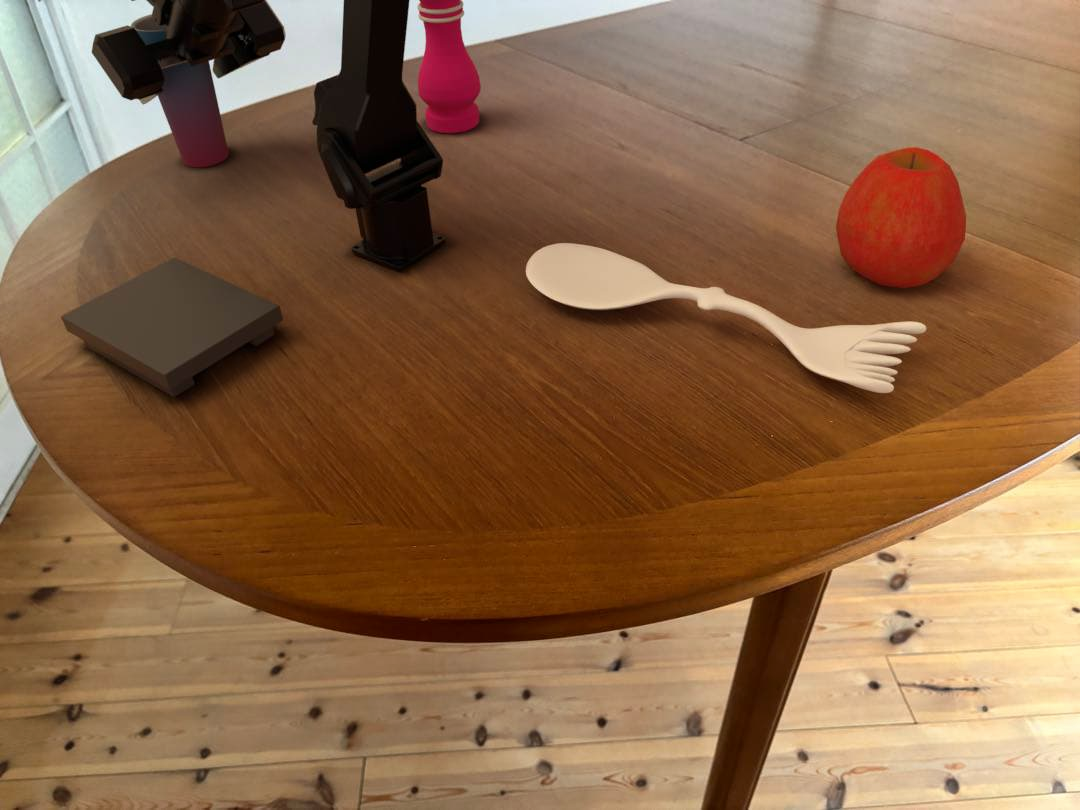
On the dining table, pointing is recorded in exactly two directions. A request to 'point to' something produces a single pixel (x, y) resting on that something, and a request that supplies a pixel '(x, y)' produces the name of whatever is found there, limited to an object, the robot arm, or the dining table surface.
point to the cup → (189, 104)
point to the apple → (902, 219)
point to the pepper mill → (447, 69)
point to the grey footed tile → (172, 323)
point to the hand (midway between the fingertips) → (179, 87)
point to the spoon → (625, 282)
